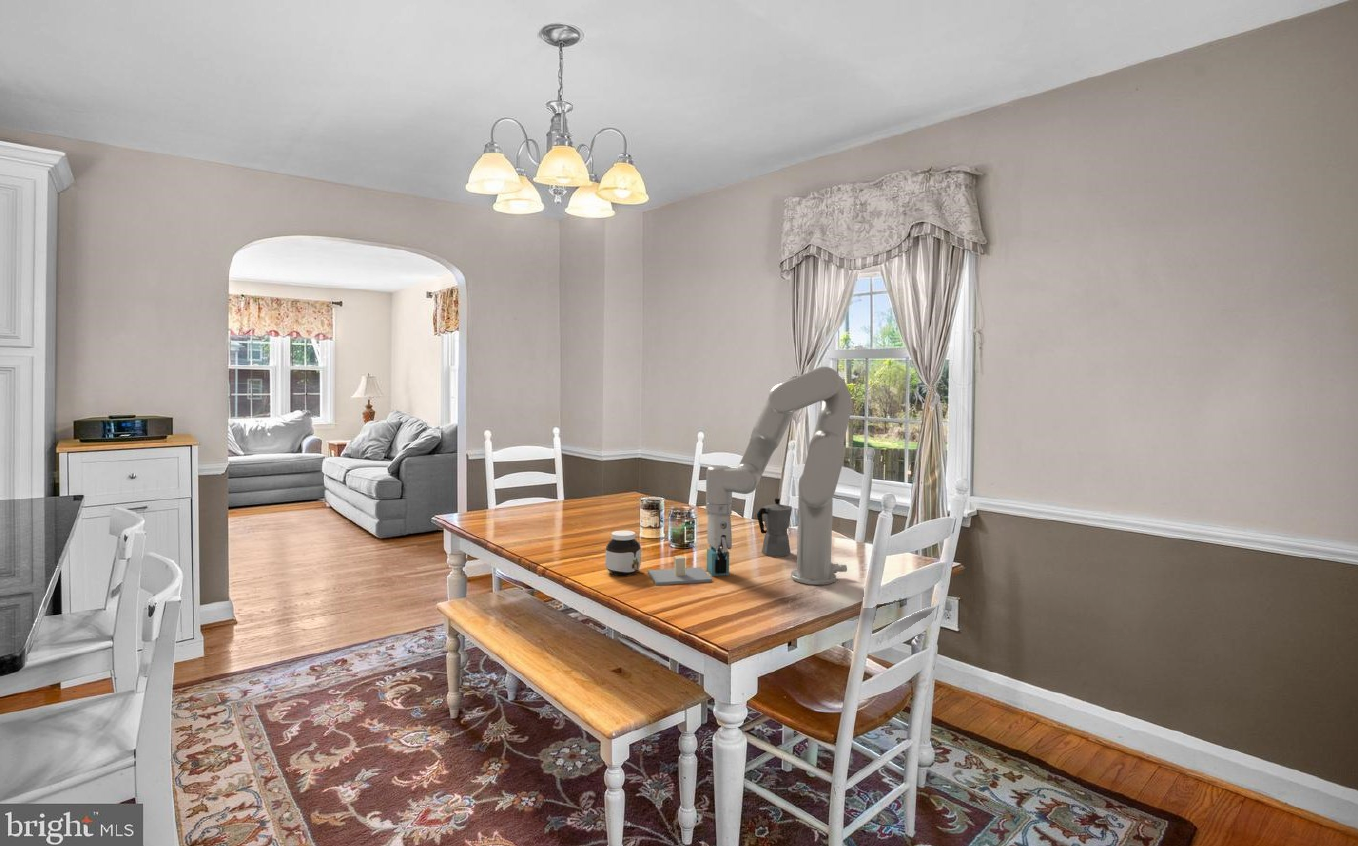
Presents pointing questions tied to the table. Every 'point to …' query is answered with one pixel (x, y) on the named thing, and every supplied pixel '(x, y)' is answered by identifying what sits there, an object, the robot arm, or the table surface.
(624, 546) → the spread jar
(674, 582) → the stand
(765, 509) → the coffeepot
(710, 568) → the teal block
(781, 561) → the table surface
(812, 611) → the table surface
